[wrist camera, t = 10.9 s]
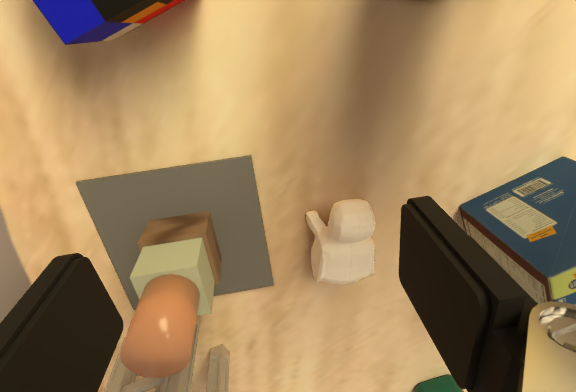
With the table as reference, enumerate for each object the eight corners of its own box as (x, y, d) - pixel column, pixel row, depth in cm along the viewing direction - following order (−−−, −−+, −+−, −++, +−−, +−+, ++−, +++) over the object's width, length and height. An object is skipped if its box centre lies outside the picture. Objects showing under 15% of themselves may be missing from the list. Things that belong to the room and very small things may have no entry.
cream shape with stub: (357, 242, 51) (380, 172, 39) (373, 294, 45) (405, 230, 34) (301, 247, 50) (309, 177, 38) (311, 301, 44) (323, 237, 33)
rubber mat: (251, 155, 39) (251, 156, 39) (273, 283, 48) (273, 285, 48) (77, 181, 38) (75, 182, 37) (134, 307, 47) (133, 309, 47)
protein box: (569, 211, 49) (695, 283, 35) (471, 256, 51) (556, 341, 37) (564, 153, 44) (709, 210, 31) (456, 204, 46) (548, 280, 32)
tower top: (202, 237, 37) (196, 265, 32) (214, 281, 40) (211, 313, 35) (143, 247, 36) (129, 277, 32) (160, 290, 40) (150, 324, 35)
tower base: (209, 210, 41) (205, 232, 37) (221, 258, 45) (219, 283, 40) (148, 220, 41) (137, 244, 36) (165, 268, 44) (157, 294, 40)
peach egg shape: (192, 269, 33) (181, 326, 26) (205, 310, 35) (197, 371, 29) (135, 279, 32) (110, 339, 26) (152, 319, 35) (132, 383, 29)
